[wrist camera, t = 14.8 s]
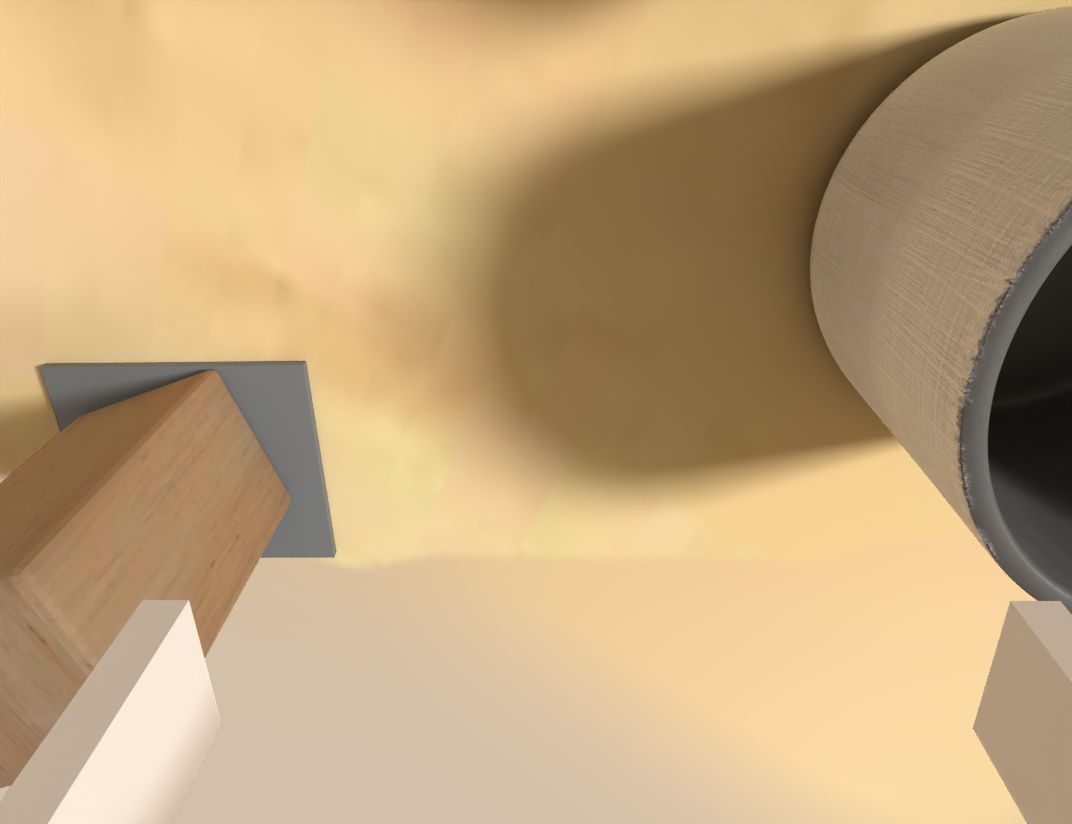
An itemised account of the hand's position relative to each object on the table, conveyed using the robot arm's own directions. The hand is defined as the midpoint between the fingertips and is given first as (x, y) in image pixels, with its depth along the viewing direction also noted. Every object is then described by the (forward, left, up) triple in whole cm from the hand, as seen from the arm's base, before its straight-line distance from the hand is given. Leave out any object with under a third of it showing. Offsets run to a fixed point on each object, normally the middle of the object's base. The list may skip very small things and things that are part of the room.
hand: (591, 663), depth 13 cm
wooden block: (+15, -24, -34) cm, 45 cm away
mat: (+16, -24, -35) cm, 45 cm away
